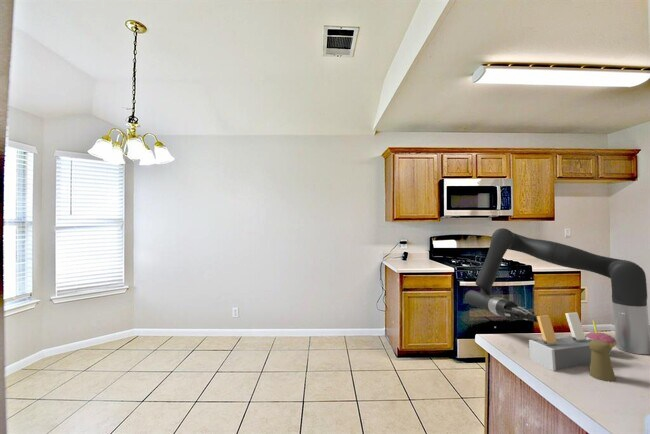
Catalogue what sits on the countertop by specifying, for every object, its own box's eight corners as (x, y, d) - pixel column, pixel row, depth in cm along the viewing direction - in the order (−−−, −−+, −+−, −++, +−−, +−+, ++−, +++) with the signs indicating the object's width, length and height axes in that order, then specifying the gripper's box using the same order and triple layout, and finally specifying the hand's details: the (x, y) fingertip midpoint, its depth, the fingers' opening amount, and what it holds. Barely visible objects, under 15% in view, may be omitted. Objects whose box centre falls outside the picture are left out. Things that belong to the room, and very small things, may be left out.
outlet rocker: (554, 342, 104) (546, 315, 107) (557, 342, 103) (549, 315, 105) (544, 343, 103) (536, 316, 106) (546, 344, 102) (538, 316, 105)
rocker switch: (583, 339, 106) (574, 312, 108) (586, 339, 105) (577, 312, 107) (573, 340, 105) (564, 313, 108) (576, 340, 104) (567, 313, 107)
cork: (621, 382, 89) (617, 345, 90) (598, 381, 90) (594, 344, 91) (606, 372, 95) (603, 338, 96) (584, 371, 96) (582, 337, 97)
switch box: (579, 353, 110) (577, 334, 110) (606, 363, 101) (604, 343, 101) (530, 359, 106) (528, 340, 107) (553, 371, 97) (551, 349, 98)
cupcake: (580, 350, 112) (578, 318, 113) (595, 346, 115) (593, 315, 115) (608, 359, 104) (605, 325, 104) (623, 355, 107) (620, 321, 107)
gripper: (488, 300, 124) (521, 310, 107) (515, 297, 126) (552, 307, 109) (489, 318, 123) (523, 331, 106) (517, 315, 126) (554, 328, 108)
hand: (538, 319), depth 108 cm, fingers closed
